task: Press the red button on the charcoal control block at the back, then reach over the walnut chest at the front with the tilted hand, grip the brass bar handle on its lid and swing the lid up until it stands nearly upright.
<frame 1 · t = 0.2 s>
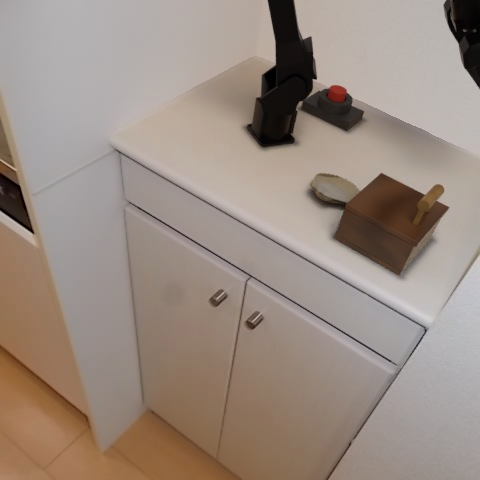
button block: (331, 114, 98), on the worktop
lid: (403, 195, 70), point 8 cm above the worktop, hinge at 0.0°
chest: (382, 238, 76), on the worktop
seashell: (332, 198, 81), on the worktop
button: (337, 93, 95), point 4 cm above the worktop, slide at 0.1 cm
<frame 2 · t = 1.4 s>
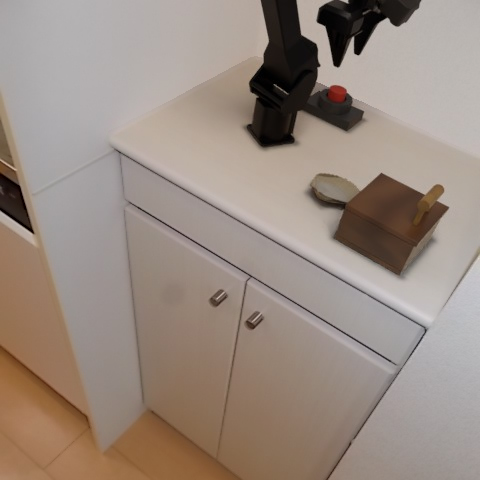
hand: (346, 60, 91), 10 cm above the worktop, tool pointing down, fingers open, 7 cm apart
nothing on the worktop moved.
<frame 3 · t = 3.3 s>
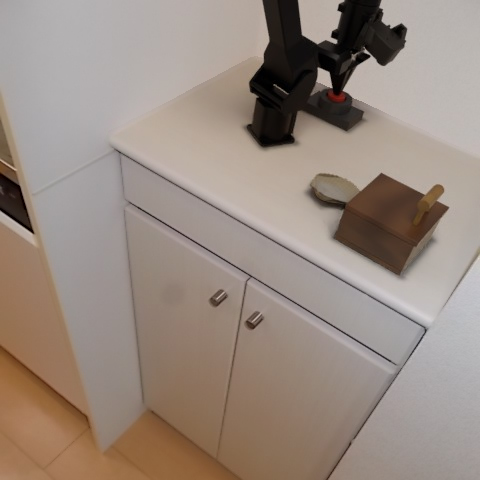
hand: (336, 94, 95), 4 cm above the worktop, tool pointing down, fingers closed, pressing on button
button: (335, 98, 96), point 3 cm above the worktop, slide at -0.8 cm, touching gripper
everything else where it was.
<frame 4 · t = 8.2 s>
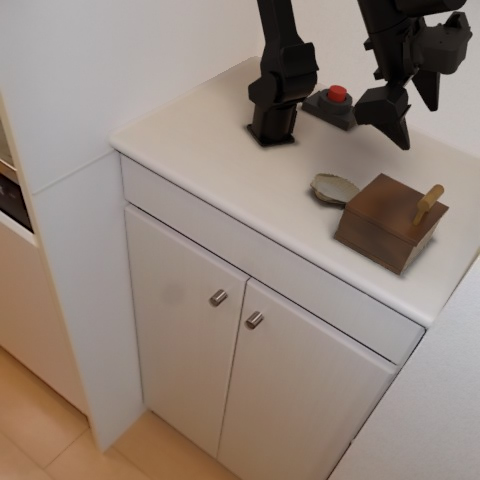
hand: (420, 129, 75), 12 cm above the worktop, tool tilted 35°, fingers open, 9 cm apart
button: (337, 93, 95), point 4 cm above the worktop, slide at 0.1 cm
everything else where it was.
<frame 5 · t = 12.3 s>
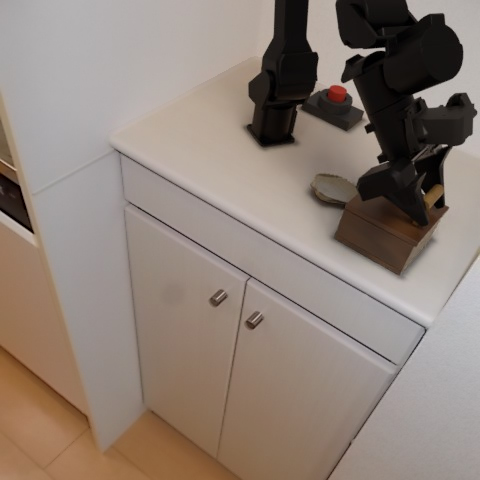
hand: (433, 216, 69), 7 cm above the worktop, tool tilted 45°, fingers closed on lid, 5 cm apart
lid: (403, 195, 70), point 8 cm above the worktop, hinge at 0.0°, touching gripper
everything else where it was.
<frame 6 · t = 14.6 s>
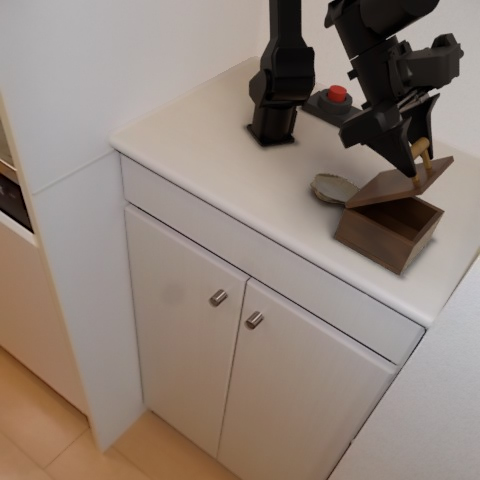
hand: (421, 168, 67), 12 cm above the worktop, tool tilted 45°, fingers closed on lid, 5 cm apart
lid: (394, 168, 69), point 11 cm above the worktop, hinge at 39.6°, touching gripper
everything else where it was.
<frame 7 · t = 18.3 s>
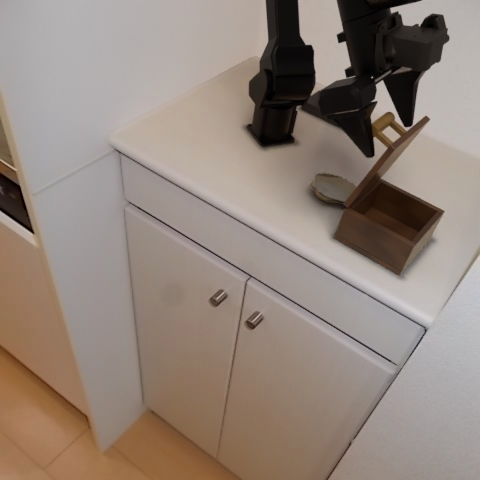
hand: (390, 141, 70), 12 cm above the worktop, tool tilted 30°, fingers open, 9 cm apart
lid: (374, 152, 69), point 12 cm above the worktop, hinge at 73.2°, touching gripper
everything else where it was.
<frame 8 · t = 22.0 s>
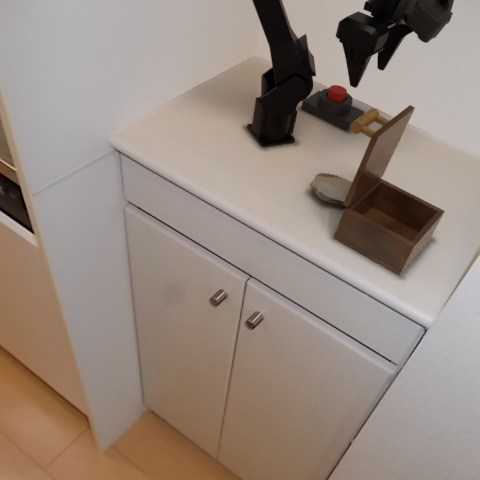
hand: (367, 77, 83), 12 cm above the worktop, tool pointing down, fingers open, 9 cm apart
lid: (365, 149, 70), point 11 cm above the worktop, hinge at 86.4°
everything else where it was.
at the end: button pushed in 1.2 cm at the most during the clip, back to where it started at the end; button slide at 0.1 cm; lid at +86° (first picture: +0°) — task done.
